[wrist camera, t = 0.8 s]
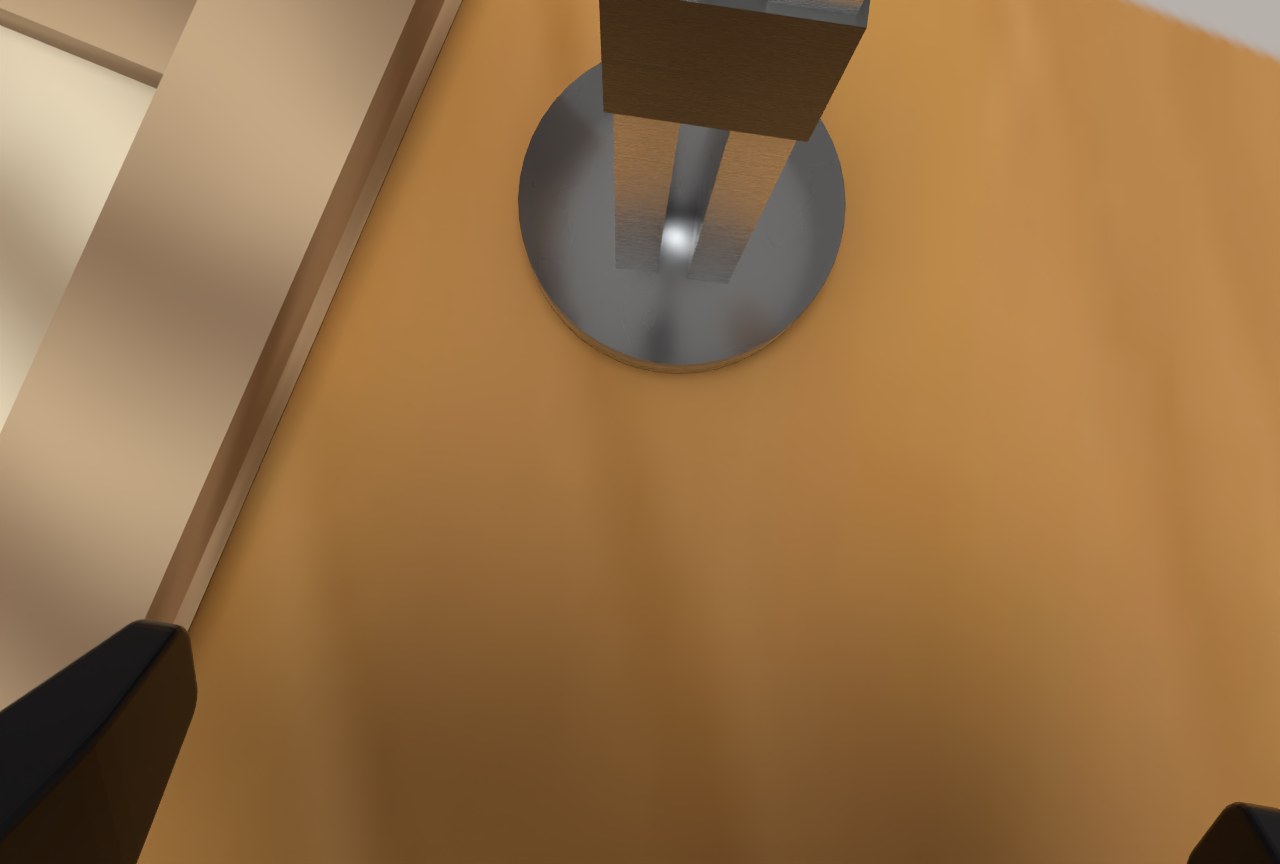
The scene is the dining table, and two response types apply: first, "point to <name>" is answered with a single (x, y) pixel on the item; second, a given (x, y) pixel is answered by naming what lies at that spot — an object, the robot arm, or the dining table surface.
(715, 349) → the round base pedestal
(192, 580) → the square wooden tray
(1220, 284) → the dining table surface
